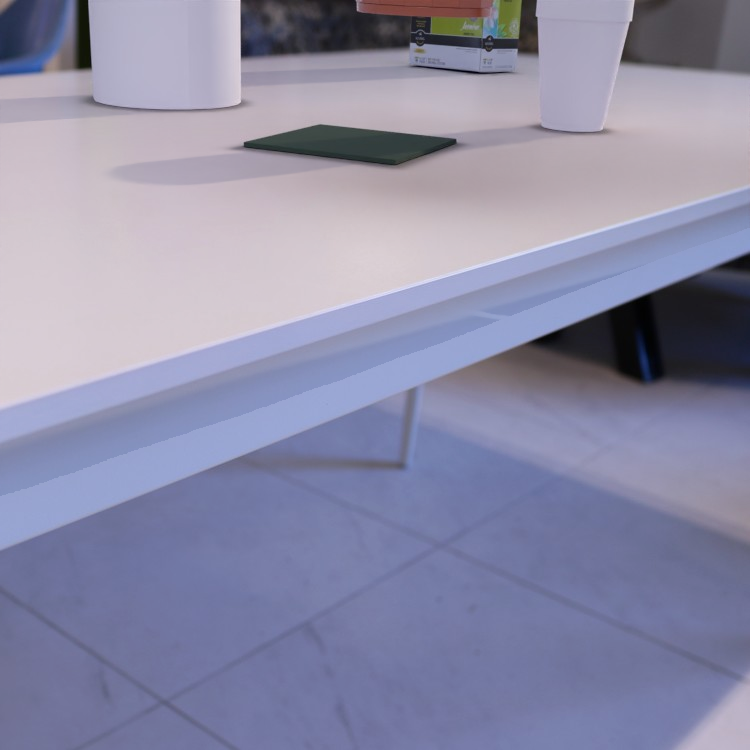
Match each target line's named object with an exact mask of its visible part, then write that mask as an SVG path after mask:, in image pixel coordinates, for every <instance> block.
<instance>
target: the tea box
mask: <svg viewBox="0 0 750 750" xmlns="http://www.w3.org/2000/svg"><path fill="white" fill-rule="evenodd" d="M522 1H523V0H493V6H492V16H491V17H488V18H446V17H420V16H410V36H409V56H408V57H409V59H408V64H409V65H411V66H419V67H429V68H437V69H439V68H440V69H449V70H458V71H468V72H478V73H500V72H502V73H503V72H515V71H516V69H517V61H518V51H519V40H520V39H519V38H520V27H521V14H522V13H521V12H522Z"/></svg>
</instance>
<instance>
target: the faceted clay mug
mask: <svg viewBox="0 0 750 750" xmlns="http://www.w3.org/2000/svg"><path fill="white" fill-rule="evenodd" d="M355 2H356V12H359V13H363V14H364V13H365V14H373V15H374V14H375V15H385V16H386V15H387V16H403V17H411V16H420V17H446V18H488V17H491V16H492V6H493V0H355Z"/></svg>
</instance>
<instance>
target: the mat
mask: <svg viewBox="0 0 750 750" xmlns="http://www.w3.org/2000/svg"><path fill="white" fill-rule="evenodd" d="M457 140H458V138H453V137H446V136H445V137H444V136H434V135H425V134H416V133H407V132H397V131H387V130H377V129H370V128H369V129H368V128H361V127H360V128H359V127H350V126H342V125H332V124H322V123H318V124H315V125H311V126H307V127H302V128H297V129H293V130H290V131H284V132H281V133H276V134H272V135H267V136H264V137H260V138H259V137H258V138H254V139H251V140H246V141H243V148H244V147H245V148H249V149H250V148H252V149H260V150H267V151H276V152H284V153H285V152H286V153H293V154H301V155H302V154H303V155H311V156H318V157H326V158H327V157H328V158H335V159H343V160H351V161H360V162H361V161H362V162H369V163H378V164H386V165H393V166H396V165H399V164H400V163H404V162H406V161H410V160H413V159H415V158H418V157H420V156H424V155H426V154H430V153H432V152H435V151H438V150H441V149H444V148H447V147H450V146H452V145H455V144H457Z"/></svg>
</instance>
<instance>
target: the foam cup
mask: <svg viewBox="0 0 750 750" xmlns="http://www.w3.org/2000/svg"><path fill="white" fill-rule="evenodd" d="M634 7H635V0H536V7H535V8H536V9H535V17H537V37H538V38H537V41H538V44H537V46H538V76H539V78H538V79H539V102H540V104H539V108H540V109H539V110H540V120H541V122H540V126H541V127H542V128H545V129H549V130H553V131H560V132H573V133H593V132H595V133H596V132H601V131H603V130H604V125H605V124H606V120H607V116H608V112H609V108H610V104H611V99H612V95H613V91H614V88H615V83H616V79H617V76H618V71H619V67H620V63H621V59H622V55H623V51H624V46H625V42H626V39H627V35H628V30H629V26H630V23H631V22H633V16H634Z"/></svg>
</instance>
